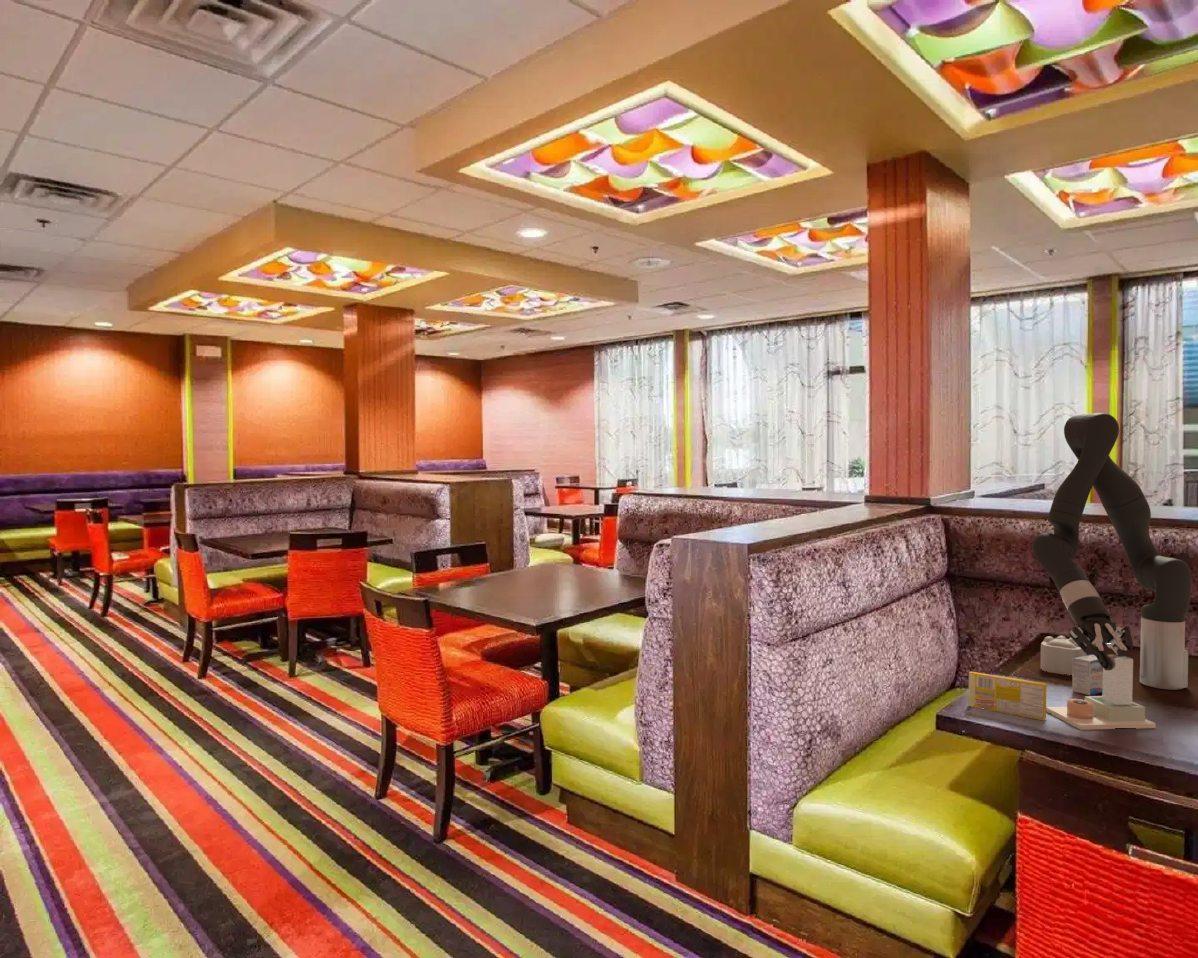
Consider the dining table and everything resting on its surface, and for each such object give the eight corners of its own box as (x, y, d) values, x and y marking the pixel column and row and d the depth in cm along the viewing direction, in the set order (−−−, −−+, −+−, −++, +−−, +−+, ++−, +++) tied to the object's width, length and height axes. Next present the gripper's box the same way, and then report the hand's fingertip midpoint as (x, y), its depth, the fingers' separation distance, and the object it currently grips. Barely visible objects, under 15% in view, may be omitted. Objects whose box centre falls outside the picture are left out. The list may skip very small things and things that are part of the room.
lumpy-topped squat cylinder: (1037, 670, 215) (1037, 639, 215) (1048, 660, 225) (1049, 631, 225) (1080, 677, 208) (1081, 645, 208) (1090, 667, 218) (1091, 636, 218)
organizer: (1116, 709, 182) (1116, 692, 182) (1155, 727, 170) (1155, 709, 170) (1045, 711, 181) (1046, 693, 181) (1080, 729, 169) (1080, 711, 169)
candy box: (1046, 719, 176) (1047, 683, 176) (1044, 721, 174) (1045, 685, 174) (970, 704, 186) (970, 670, 186) (967, 706, 185) (968, 672, 185)
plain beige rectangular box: (1118, 706, 177) (1120, 654, 176) (1131, 712, 173) (1133, 658, 172) (1102, 706, 176) (1103, 654, 176) (1114, 712, 173) (1115, 659, 172)
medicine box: (1089, 696, 192) (1090, 661, 192) (1071, 691, 196) (1072, 657, 196) (1108, 691, 196) (1108, 657, 196) (1090, 686, 200) (1090, 653, 199)
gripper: (1062, 595, 182) (1097, 660, 171) (1120, 594, 183) (1159, 659, 171) (1047, 613, 188) (1080, 677, 176) (1104, 612, 189) (1140, 676, 177)
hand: (1119, 668), depth 174 cm, fingers closed on plain beige rectangular box, 4 cm apart
